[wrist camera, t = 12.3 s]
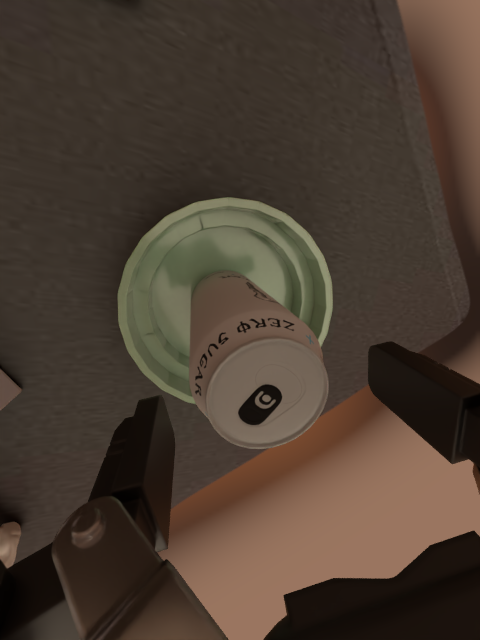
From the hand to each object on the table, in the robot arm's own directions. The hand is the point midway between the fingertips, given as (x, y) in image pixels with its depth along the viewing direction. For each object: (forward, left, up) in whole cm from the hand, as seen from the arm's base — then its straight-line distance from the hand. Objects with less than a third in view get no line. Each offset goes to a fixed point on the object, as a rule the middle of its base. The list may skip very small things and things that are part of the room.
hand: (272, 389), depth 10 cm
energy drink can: (0, 0, -15) cm, 15 cm away
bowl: (0, 0, -16) cm, 16 cm away
